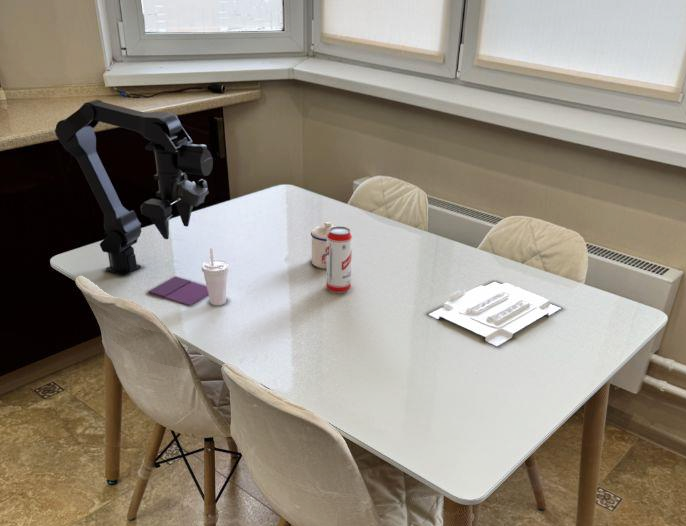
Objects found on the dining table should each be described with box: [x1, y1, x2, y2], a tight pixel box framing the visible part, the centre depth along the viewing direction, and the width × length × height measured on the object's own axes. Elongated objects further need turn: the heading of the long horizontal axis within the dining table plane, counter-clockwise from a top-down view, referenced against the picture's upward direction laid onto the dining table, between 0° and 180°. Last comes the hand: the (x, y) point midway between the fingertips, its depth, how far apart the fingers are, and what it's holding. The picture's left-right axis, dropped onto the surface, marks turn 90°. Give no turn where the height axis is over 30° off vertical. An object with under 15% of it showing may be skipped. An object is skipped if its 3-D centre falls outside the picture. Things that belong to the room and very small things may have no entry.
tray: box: [428, 281, 562, 347], centre depth 170 cm, size 20×28×4 cm
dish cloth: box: [148, 276, 209, 306], centre depth 173 cm, size 13×10×1 cm
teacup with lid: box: [310, 221, 336, 270], centre depth 189 cm, size 12×9×12 cm
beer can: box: [325, 225, 353, 294], centre depth 174 cm, size 6×6×16 cm
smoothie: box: [201, 247, 230, 306], centre depth 166 cm, size 6×6×14 cm
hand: (176, 232), depth 172 cm, fingers open, 9 cm apart
